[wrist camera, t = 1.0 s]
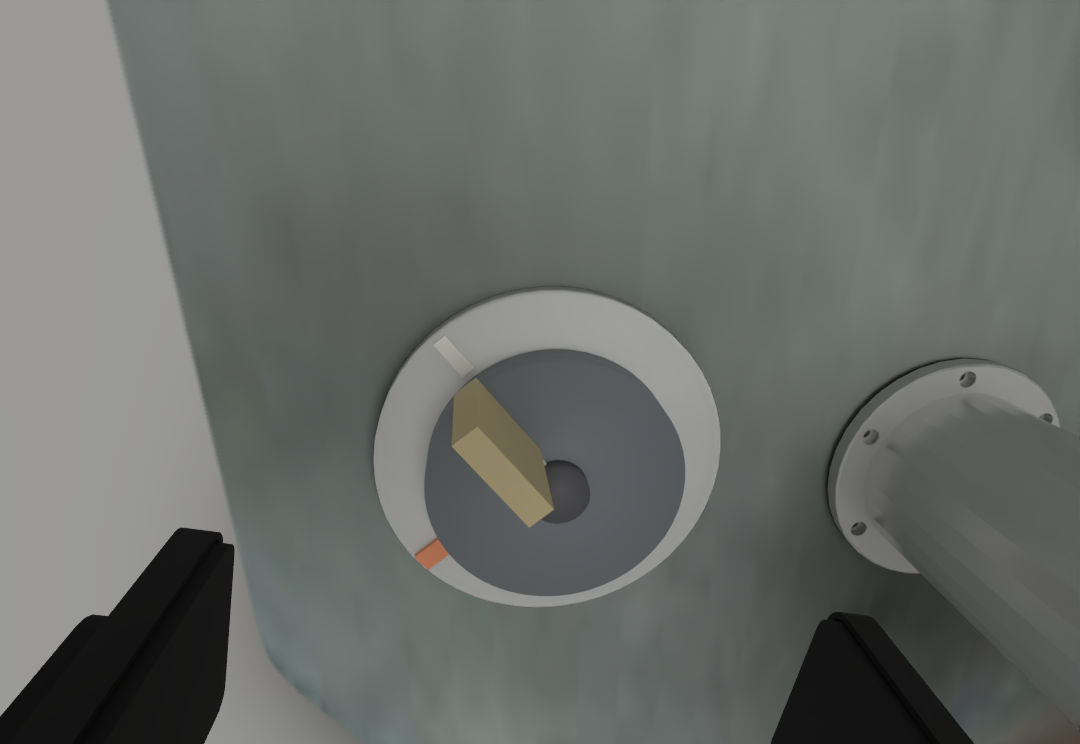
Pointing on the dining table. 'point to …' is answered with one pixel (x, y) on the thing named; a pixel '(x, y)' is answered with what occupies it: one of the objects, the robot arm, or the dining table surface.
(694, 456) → the plate
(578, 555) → the dial
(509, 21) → the dining table surface
